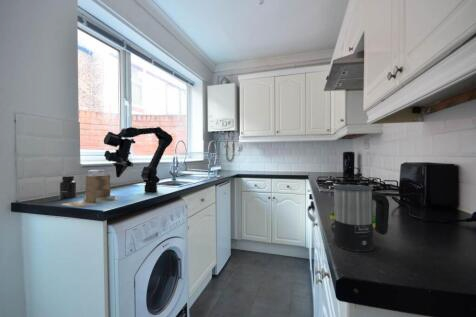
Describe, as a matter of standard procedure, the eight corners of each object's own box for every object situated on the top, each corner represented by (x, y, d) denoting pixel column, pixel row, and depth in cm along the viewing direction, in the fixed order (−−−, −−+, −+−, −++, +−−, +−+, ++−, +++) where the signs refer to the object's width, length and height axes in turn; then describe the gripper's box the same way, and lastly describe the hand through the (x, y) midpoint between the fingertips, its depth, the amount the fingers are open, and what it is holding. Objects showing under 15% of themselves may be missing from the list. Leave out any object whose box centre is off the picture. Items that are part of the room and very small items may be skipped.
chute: (102, 199, 115) (102, 193, 115) (121, 201, 109) (121, 195, 109) (60, 206, 98) (60, 199, 98) (80, 209, 92) (80, 202, 92)
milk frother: (355, 255, 50) (355, 190, 50) (307, 233, 65) (307, 182, 64) (395, 245, 56) (395, 186, 56) (343, 227, 70) (343, 180, 70)
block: (102, 198, 111) (102, 174, 110) (110, 199, 108) (110, 175, 108) (85, 201, 103) (85, 176, 103) (93, 202, 101) (93, 176, 101)
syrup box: (105, 194, 129) (104, 169, 129) (97, 196, 123) (97, 170, 123) (95, 194, 130) (95, 169, 130) (88, 195, 124) (87, 170, 124)
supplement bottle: (59, 201, 109) (59, 177, 109) (59, 199, 114) (59, 176, 114) (76, 199, 114) (76, 176, 114) (75, 197, 119) (75, 175, 119)
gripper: (116, 150, 130) (110, 176, 127) (100, 143, 112) (92, 173, 109) (136, 153, 131) (130, 179, 128) (122, 146, 113) (115, 176, 110)
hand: (117, 177), depth 119 cm, fingers closed
